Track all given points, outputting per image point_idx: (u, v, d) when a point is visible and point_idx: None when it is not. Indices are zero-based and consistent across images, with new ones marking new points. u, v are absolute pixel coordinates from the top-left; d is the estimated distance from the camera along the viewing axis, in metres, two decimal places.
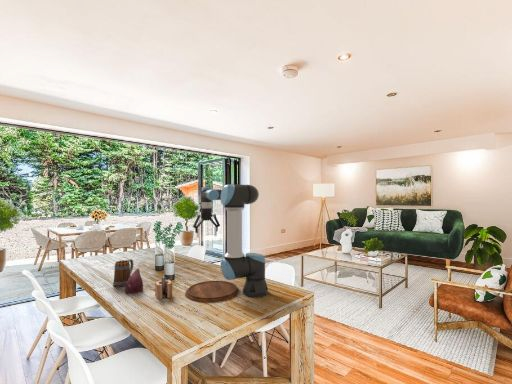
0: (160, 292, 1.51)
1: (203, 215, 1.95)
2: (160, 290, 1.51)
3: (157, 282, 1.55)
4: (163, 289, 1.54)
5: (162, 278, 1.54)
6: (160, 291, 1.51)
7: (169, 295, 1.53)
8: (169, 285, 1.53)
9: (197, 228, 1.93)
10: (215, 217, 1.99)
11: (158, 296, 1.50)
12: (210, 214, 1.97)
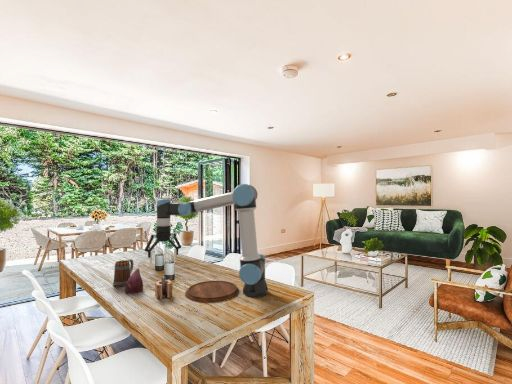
0: (160, 292, 1.51)
1: (158, 235, 1.53)
2: (160, 290, 1.51)
3: (157, 282, 1.55)
4: (163, 289, 1.54)
5: (162, 278, 1.54)
6: (160, 291, 1.51)
7: (169, 295, 1.53)
8: (169, 285, 1.53)
9: (150, 252, 1.51)
10: (175, 237, 1.58)
11: (158, 296, 1.50)
12: (168, 233, 1.56)
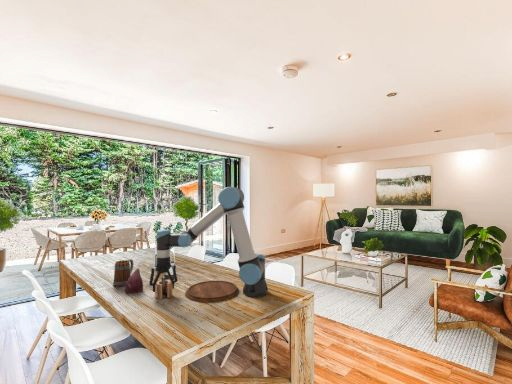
0: (160, 292, 1.51)
1: (158, 266, 1.53)
2: (160, 290, 1.51)
3: (157, 282, 1.55)
4: (163, 289, 1.54)
5: (162, 278, 1.54)
6: (160, 291, 1.51)
7: (169, 295, 1.53)
8: (169, 285, 1.53)
9: (155, 286, 1.52)
10: (174, 269, 1.57)
11: (158, 296, 1.50)
12: (168, 264, 1.56)
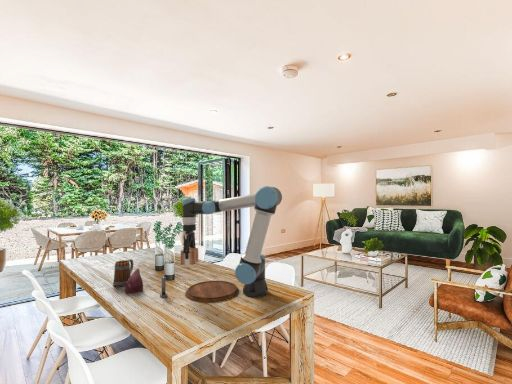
0: (195, 257, 1.56)
1: (189, 233, 1.56)
2: (195, 255, 1.56)
3: None
4: (163, 289, 1.54)
5: (162, 278, 1.54)
6: (195, 256, 1.56)
7: (197, 259, 1.61)
8: (197, 250, 1.61)
9: (188, 253, 1.54)
10: (194, 236, 1.64)
11: (194, 261, 1.55)
12: (192, 231, 1.62)
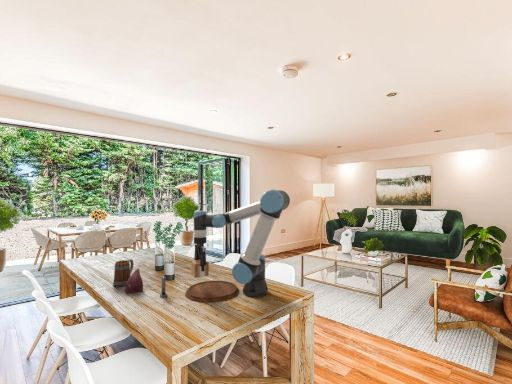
0: None
1: None
2: None
3: (199, 263, 1.57)
4: (163, 289, 1.54)
5: (162, 278, 1.54)
6: None
7: None
8: None
9: None
10: None
11: None
12: None
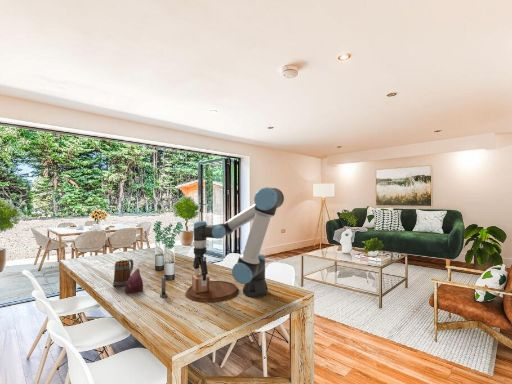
0: None
1: None
2: None
3: (199, 278, 1.57)
4: (163, 289, 1.54)
5: (162, 278, 1.54)
6: None
7: None
8: None
9: None
10: None
11: None
12: None
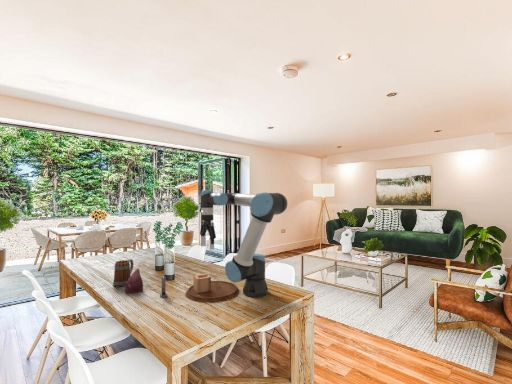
0: None
1: None
2: None
3: (201, 278, 1.57)
4: (163, 289, 1.54)
5: (162, 278, 1.54)
6: None
7: None
8: None
9: None
10: None
11: None
12: None
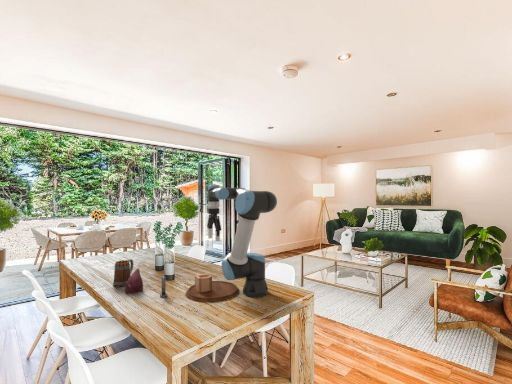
0: None
1: None
2: None
3: (202, 277, 1.57)
4: (163, 289, 1.54)
5: (162, 278, 1.54)
6: None
7: None
8: None
9: None
10: None
11: (211, 287, 1.60)
12: None
